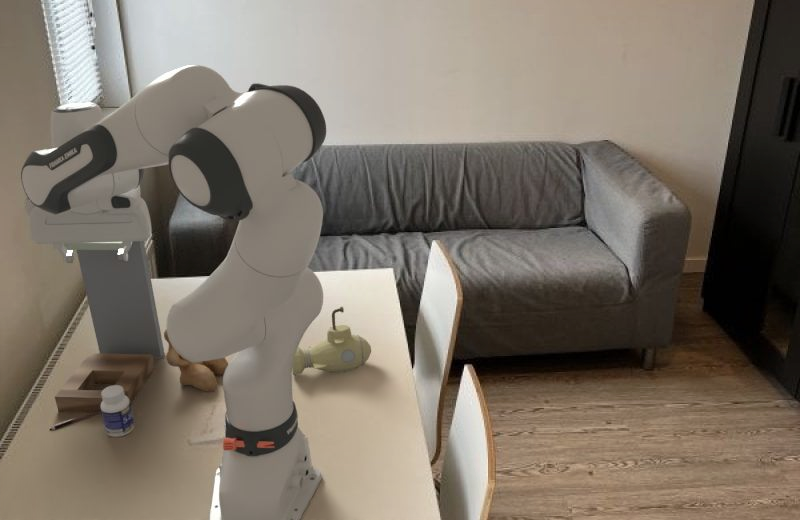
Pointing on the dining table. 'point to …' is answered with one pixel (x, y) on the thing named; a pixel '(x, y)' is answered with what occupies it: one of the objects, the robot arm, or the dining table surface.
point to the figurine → (196, 369)
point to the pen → (74, 420)
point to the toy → (334, 351)
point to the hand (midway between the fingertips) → (96, 260)
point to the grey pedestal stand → (120, 298)
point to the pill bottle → (116, 411)
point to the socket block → (104, 380)
